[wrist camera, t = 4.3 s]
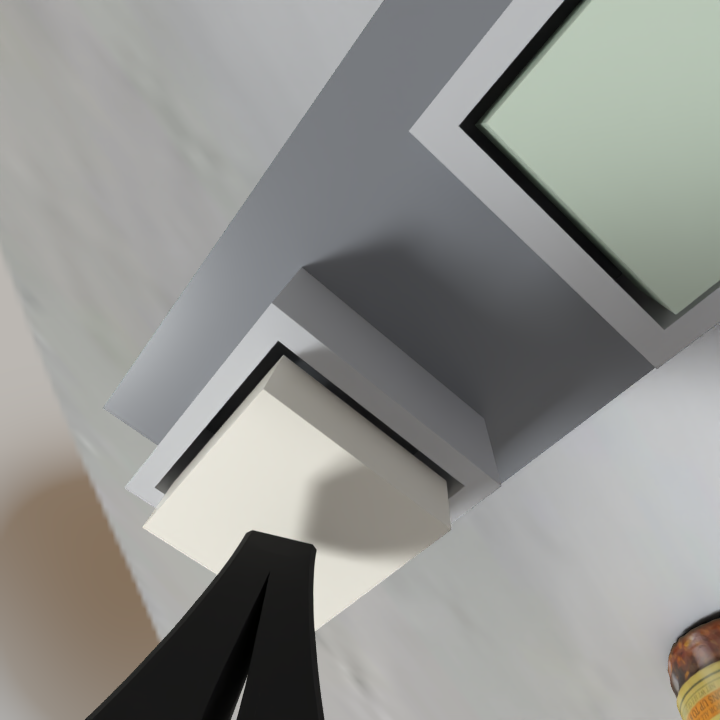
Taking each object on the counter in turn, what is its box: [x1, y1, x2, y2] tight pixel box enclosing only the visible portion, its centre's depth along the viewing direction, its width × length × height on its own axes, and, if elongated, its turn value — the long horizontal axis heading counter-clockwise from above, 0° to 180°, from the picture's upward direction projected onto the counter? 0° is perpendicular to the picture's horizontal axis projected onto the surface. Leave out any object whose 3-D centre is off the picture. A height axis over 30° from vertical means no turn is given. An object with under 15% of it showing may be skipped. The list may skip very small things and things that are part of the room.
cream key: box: [142, 355, 451, 631], centre depth 11 cm, size 5×5×2 cm
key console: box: [103, 0, 720, 524], centre depth 12 cm, size 11×20×6 cm, turn 140°
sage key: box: [475, 0, 720, 314], centre depth 8 cm, size 5×5×2 cm
